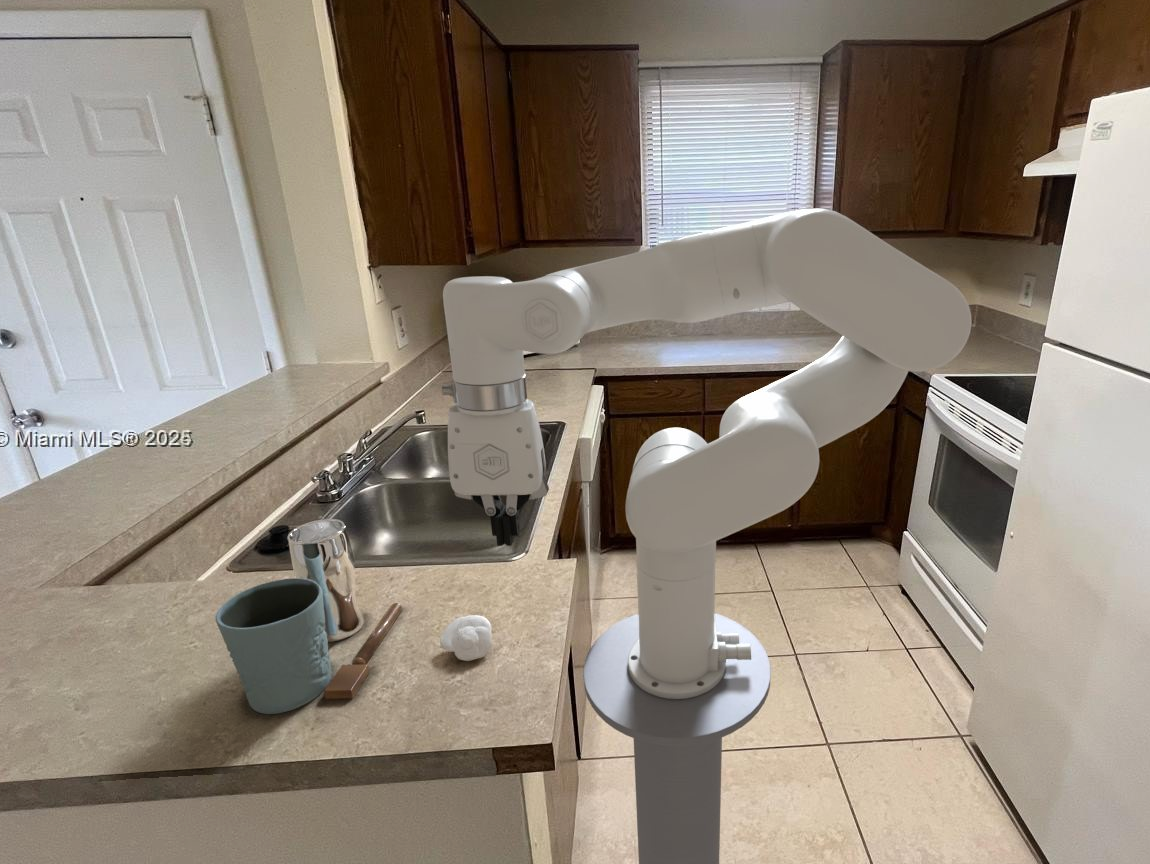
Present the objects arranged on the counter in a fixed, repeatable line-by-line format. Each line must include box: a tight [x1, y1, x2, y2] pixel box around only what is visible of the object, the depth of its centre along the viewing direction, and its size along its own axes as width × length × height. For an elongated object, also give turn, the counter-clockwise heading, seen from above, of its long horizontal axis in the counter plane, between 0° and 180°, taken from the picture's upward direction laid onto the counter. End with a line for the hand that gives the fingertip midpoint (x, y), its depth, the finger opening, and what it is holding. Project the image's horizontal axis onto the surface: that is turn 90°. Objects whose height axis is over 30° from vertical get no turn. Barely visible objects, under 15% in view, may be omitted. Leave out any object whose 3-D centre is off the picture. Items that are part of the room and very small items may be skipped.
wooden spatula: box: [323, 602, 403, 700], centre depth 79 cm, size 17×3×2 cm, turn 1°
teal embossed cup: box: [215, 577, 332, 715], centre depth 71 cm, size 10×10×12 cm
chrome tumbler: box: [287, 518, 365, 643], centre depth 81 cm, size 7×7×15 cm
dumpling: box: [439, 614, 493, 662], centre depth 78 cm, size 7×5×4 cm
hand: (507, 539), depth 73 cm, fingers closed
